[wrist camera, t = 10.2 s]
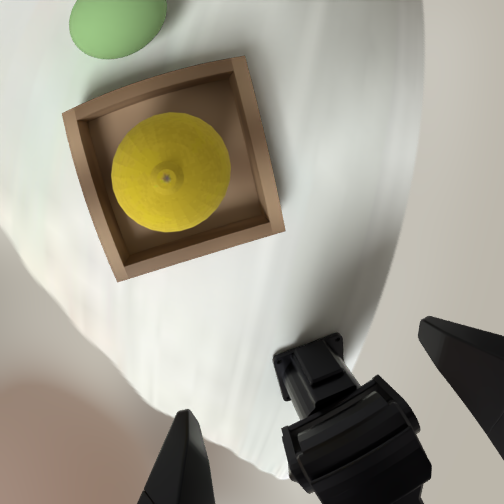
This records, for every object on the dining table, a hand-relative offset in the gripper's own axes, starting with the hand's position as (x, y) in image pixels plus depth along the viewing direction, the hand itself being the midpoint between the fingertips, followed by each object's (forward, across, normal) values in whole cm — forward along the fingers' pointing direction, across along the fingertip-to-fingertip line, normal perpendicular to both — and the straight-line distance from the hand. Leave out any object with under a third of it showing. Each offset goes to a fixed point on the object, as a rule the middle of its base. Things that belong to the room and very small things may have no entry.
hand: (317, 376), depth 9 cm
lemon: (+12, +3, -7) cm, 14 cm away
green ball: (+12, +4, -17) cm, 21 cm away
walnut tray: (+12, +3, -7) cm, 14 cm away
